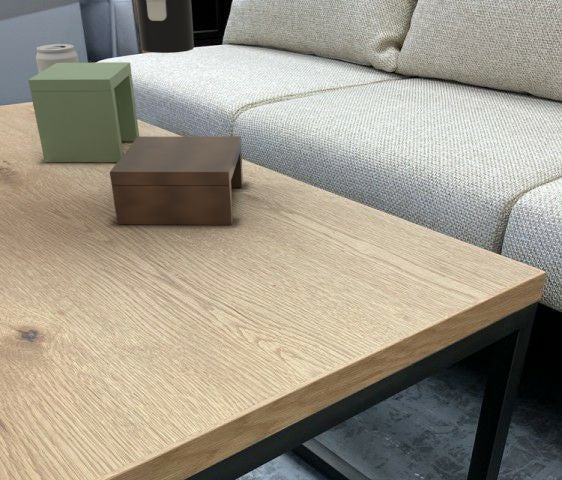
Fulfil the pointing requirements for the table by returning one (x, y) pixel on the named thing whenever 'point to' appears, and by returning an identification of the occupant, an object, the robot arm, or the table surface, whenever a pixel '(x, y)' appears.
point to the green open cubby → (84, 111)
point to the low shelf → (177, 180)
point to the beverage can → (55, 55)
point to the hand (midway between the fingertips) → (164, 15)
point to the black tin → (167, 28)
